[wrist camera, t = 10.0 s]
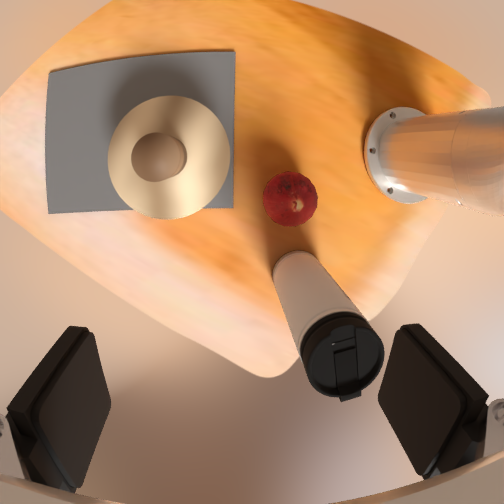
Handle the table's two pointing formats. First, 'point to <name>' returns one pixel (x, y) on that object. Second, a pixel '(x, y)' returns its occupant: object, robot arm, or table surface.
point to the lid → (168, 157)
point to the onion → (290, 199)
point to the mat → (113, 111)
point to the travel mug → (327, 328)
